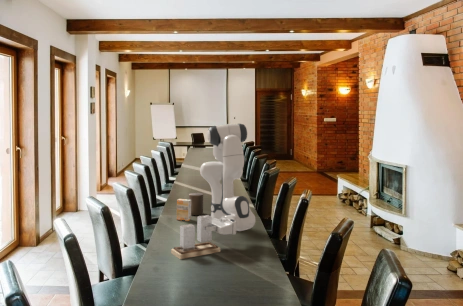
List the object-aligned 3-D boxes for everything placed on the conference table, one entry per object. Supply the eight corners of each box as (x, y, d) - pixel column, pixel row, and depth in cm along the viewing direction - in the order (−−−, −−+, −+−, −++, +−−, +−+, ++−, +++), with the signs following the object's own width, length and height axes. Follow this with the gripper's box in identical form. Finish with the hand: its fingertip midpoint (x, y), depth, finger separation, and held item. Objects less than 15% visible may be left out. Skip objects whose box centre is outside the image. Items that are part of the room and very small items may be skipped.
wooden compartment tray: (210, 246, 226) (210, 241, 226) (220, 251, 218) (220, 246, 217) (171, 253, 214) (171, 247, 214) (180, 259, 206) (180, 253, 206)
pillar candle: (202, 216, 290) (203, 193, 288) (187, 215, 289) (188, 193, 288) (203, 212, 299) (203, 191, 298) (189, 212, 299) (189, 190, 298)
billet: (190, 247, 216) (191, 224, 215) (194, 250, 213) (194, 225, 212) (179, 249, 213) (180, 225, 212) (183, 252, 210) (183, 227, 209)
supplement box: (176, 220, 277) (176, 199, 276) (179, 218, 282) (179, 198, 281) (188, 221, 275) (188, 200, 274) (191, 219, 280) (191, 199, 278)
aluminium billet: (207, 238, 221) (207, 215, 220) (211, 240, 218) (211, 216, 217) (197, 240, 218) (197, 216, 217) (201, 242, 215) (201, 218, 213)
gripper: (216, 213, 233) (193, 216, 225) (237, 222, 215) (213, 226, 208) (216, 225, 233) (193, 229, 226) (237, 235, 216) (213, 239, 209)
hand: (203, 227), depth 217 cm, fingers closed on aluminium billet, 4 cm apart
